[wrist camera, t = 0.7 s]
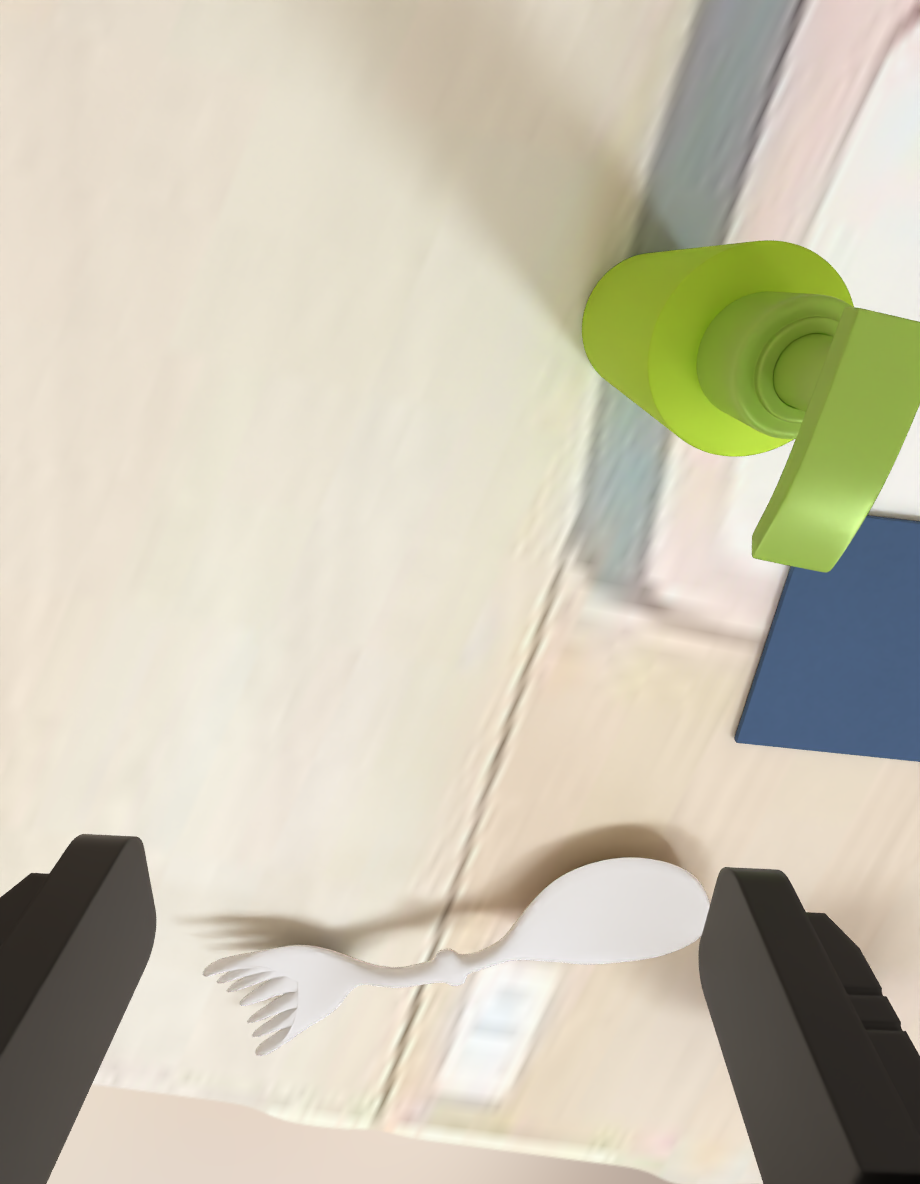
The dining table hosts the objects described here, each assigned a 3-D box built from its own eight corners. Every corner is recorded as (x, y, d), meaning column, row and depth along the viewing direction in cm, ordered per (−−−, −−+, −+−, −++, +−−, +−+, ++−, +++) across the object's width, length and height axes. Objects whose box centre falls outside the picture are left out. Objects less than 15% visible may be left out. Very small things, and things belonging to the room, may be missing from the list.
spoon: (213, 931, 48) (196, 977, 45) (685, 820, 44) (702, 863, 41) (268, 1017, 52) (255, 1065, 49) (710, 922, 47) (727, 968, 44)
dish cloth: (809, 508, 36) (812, 510, 35) (1040, 535, 36) (1046, 537, 36) (733, 738, 41) (736, 743, 41) (934, 759, 42) (938, 764, 42)
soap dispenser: (561, 399, 34) (671, 548, 15) (602, 239, 31) (795, 190, 13) (680, 425, 34) (924, 599, 16) (731, 269, 31) (1099, 264, 13)
